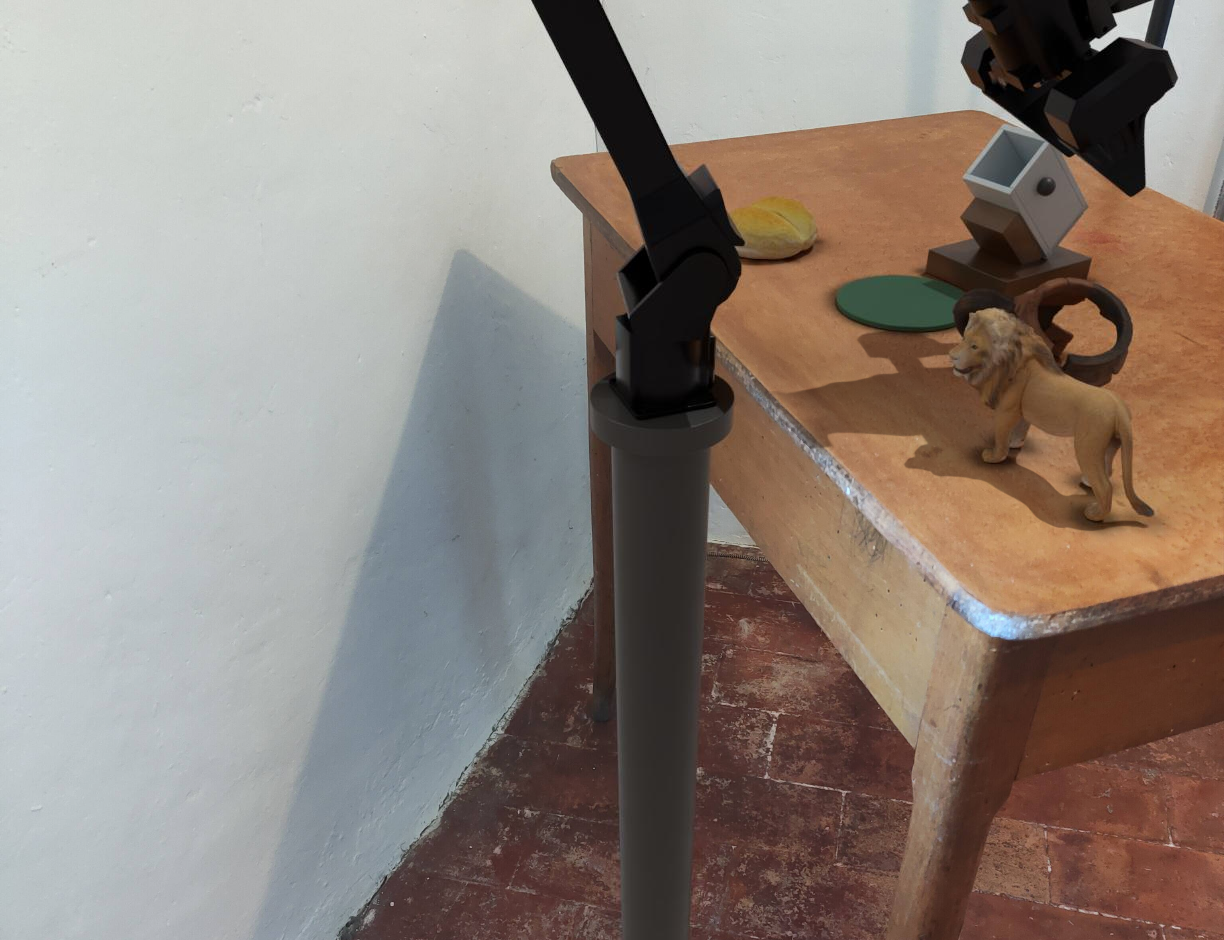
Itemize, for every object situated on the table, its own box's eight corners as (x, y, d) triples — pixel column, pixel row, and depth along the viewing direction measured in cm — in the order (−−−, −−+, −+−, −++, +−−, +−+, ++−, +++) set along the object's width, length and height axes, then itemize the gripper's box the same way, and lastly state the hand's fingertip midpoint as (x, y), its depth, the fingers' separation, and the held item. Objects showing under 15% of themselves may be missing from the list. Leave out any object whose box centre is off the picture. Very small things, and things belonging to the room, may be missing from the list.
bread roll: (701, 247, 99) (702, 203, 96) (764, 224, 104) (767, 182, 101) (768, 270, 94) (772, 224, 92) (832, 245, 99) (837, 201, 96)
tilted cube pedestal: (1001, 305, 87) (1019, 225, 83) (924, 271, 93) (937, 195, 89) (1086, 281, 91) (1107, 202, 87) (1007, 250, 97) (1023, 175, 93)
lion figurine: (918, 443, 70) (942, 312, 64) (968, 418, 72) (995, 289, 67) (1127, 540, 60) (1175, 396, 55) (1175, 507, 63) (1226, 366, 57)
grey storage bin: (1003, 277, 86) (1031, 148, 80) (938, 250, 92) (960, 127, 85) (1088, 254, 90) (1121, 128, 84) (1022, 229, 95) (1048, 109, 89)
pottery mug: (1098, 359, 80) (1157, 288, 72) (1071, 460, 76) (1131, 397, 69) (946, 304, 81) (989, 228, 73) (913, 402, 77) (954, 333, 70)
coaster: (880, 340, 82) (881, 336, 82) (812, 290, 90) (812, 286, 90) (1000, 319, 85) (1001, 314, 85) (924, 272, 93) (924, 267, 93)
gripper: (1223, -123, 55) (1303, 126, 63) (1065, -144, 69) (1148, 60, 78) (1026, 30, 58) (1128, 247, 67) (916, -20, 73) (1010, 163, 81)
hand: (1104, 171), depth 73 cm, fingers open, 9 cm apart
